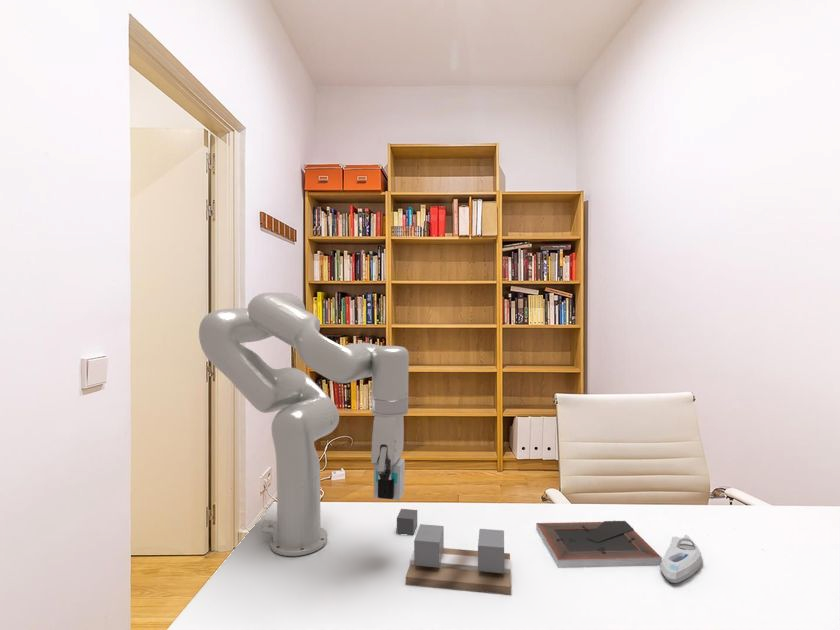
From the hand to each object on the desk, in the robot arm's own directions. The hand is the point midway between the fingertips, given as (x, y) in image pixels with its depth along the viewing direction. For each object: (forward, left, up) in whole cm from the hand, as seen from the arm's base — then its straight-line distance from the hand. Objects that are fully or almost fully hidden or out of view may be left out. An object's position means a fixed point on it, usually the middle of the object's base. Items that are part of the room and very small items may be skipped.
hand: (389, 491), depth 100 cm
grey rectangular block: (+1, +15, -15) cm, 21 cm away
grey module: (0, 0, -1) cm, 1 cm away
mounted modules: (+15, -1, -12) cm, 20 cm away
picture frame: (+44, +14, -16) cm, 48 cm away
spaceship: (+60, +11, -16) cm, 63 cm away
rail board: (+15, -1, -15) cm, 21 cm away
